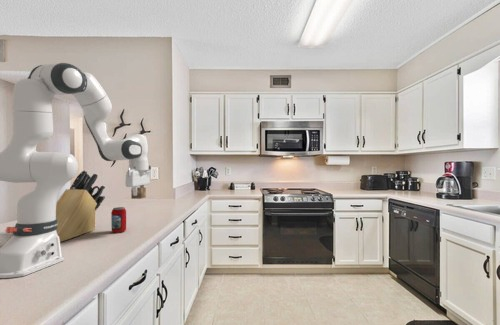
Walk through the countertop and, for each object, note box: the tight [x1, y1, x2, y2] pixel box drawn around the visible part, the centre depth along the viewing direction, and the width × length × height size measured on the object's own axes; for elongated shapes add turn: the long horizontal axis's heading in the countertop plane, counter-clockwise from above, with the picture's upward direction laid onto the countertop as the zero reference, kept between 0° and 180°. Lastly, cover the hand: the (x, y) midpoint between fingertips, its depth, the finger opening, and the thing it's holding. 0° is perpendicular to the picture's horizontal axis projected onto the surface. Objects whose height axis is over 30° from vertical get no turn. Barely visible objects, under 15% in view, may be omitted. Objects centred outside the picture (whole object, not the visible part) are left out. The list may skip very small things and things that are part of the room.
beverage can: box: [110, 206, 127, 234], centre depth 143 cm, size 7×7×12 cm
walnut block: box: [130, 186, 147, 200], centre depth 140 cm, size 5×5×5 cm
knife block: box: [56, 170, 106, 243], centre depth 138 cm, size 11×35×31 cm, turn 173°
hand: (138, 194), depth 140 cm, fingers closed on walnut block, 5 cm apart
